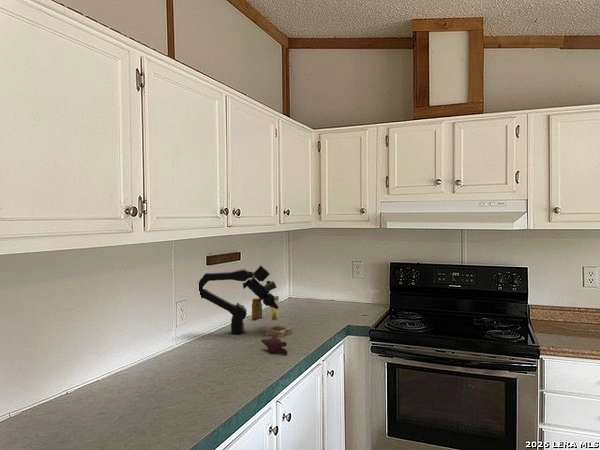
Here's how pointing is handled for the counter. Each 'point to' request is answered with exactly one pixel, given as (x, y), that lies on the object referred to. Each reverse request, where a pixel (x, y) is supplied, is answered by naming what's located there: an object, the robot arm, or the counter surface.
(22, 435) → the counter surface
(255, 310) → the condiment
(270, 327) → the mount mat
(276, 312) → the pin
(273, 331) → the socket
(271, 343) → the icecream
